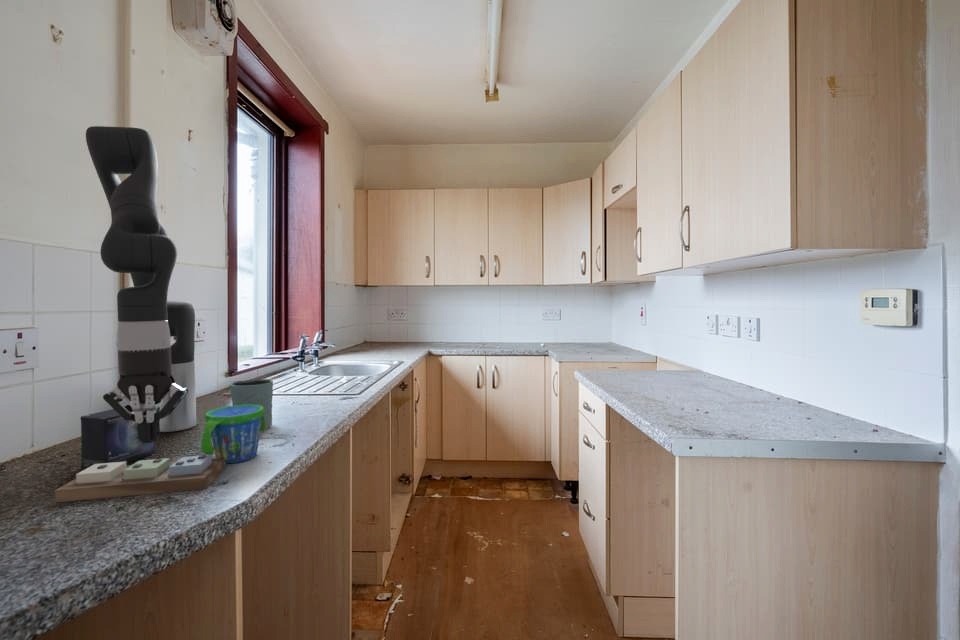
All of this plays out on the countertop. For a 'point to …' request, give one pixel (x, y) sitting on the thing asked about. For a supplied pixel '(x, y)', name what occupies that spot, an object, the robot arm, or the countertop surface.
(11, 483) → the countertop surface
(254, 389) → the grey green plant pot
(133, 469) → the tile two
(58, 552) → the countertop surface
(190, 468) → the tile three
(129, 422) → the small box
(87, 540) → the countertop surface
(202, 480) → the board
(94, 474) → the tile one
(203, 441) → the snack cup
